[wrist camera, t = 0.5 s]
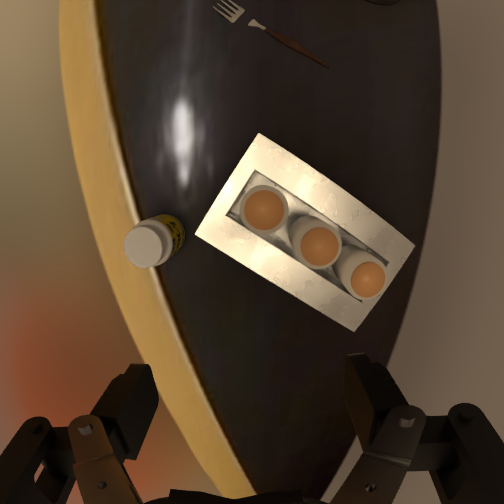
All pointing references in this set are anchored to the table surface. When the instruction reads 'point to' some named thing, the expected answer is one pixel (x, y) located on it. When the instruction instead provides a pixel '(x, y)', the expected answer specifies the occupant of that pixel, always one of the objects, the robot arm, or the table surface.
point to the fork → (270, 32)
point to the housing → (300, 204)
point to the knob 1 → (264, 209)
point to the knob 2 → (315, 242)
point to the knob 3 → (360, 272)
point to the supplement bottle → (154, 241)
